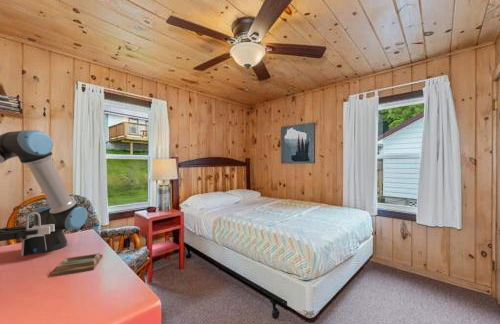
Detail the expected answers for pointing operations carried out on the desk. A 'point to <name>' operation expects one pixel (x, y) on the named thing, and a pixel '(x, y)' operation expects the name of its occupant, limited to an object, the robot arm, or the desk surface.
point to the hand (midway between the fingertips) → (51, 228)
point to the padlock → (33, 240)
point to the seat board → (77, 264)
